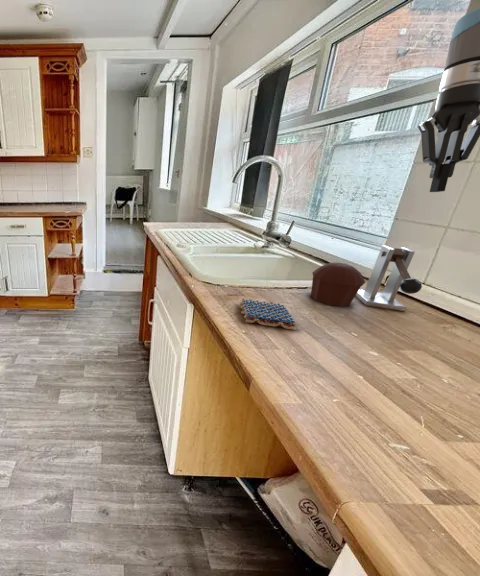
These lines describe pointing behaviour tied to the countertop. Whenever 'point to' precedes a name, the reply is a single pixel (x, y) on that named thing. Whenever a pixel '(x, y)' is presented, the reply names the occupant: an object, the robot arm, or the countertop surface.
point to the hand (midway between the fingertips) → (436, 191)
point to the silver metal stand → (393, 283)
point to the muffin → (336, 284)
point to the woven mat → (267, 314)
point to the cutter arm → (405, 274)
